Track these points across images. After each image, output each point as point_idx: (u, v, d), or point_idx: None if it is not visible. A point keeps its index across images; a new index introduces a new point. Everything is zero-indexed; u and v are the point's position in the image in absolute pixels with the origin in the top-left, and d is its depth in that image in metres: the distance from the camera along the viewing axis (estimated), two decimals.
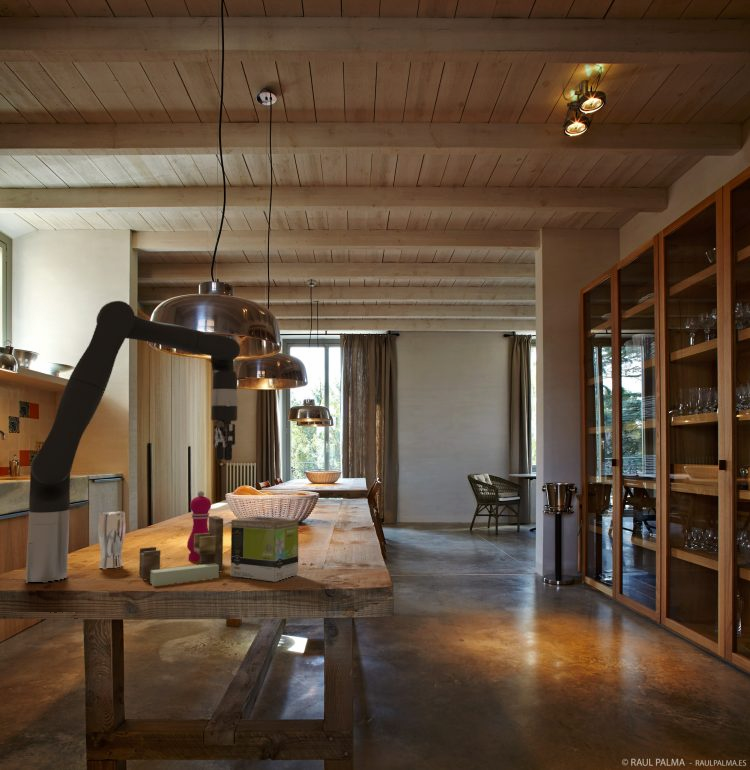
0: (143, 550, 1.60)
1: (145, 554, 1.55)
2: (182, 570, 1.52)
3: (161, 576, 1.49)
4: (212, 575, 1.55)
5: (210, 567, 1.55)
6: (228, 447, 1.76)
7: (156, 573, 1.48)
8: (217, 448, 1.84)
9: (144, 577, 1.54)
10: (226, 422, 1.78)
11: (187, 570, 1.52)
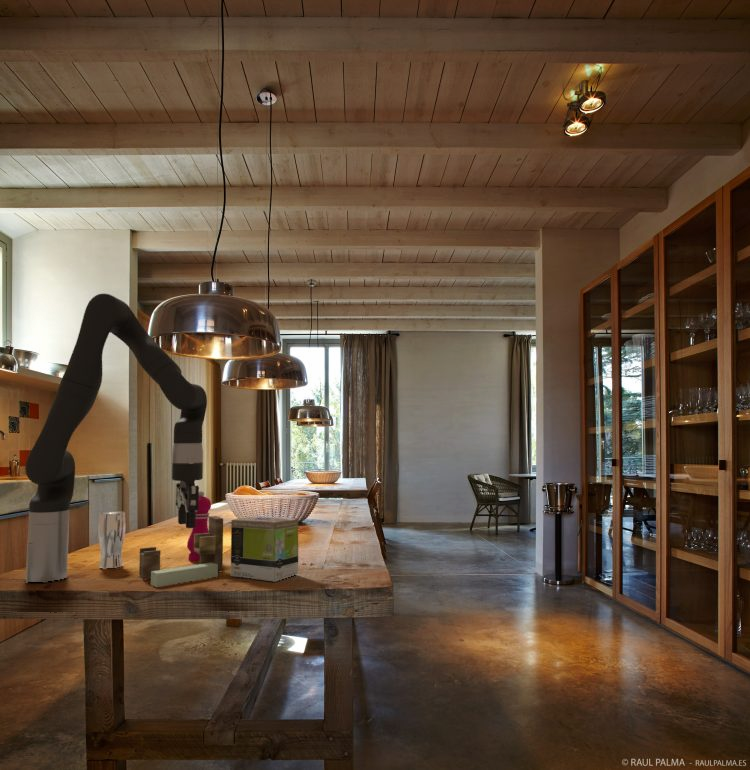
0: (143, 550, 1.60)
1: (145, 554, 1.55)
2: (184, 570, 1.52)
3: (163, 577, 1.48)
4: (211, 574, 1.56)
5: (210, 566, 1.56)
6: (191, 513, 1.50)
7: (159, 574, 1.48)
8: (180, 511, 1.58)
9: (144, 577, 1.54)
10: (189, 483, 1.52)
11: (188, 570, 1.52)
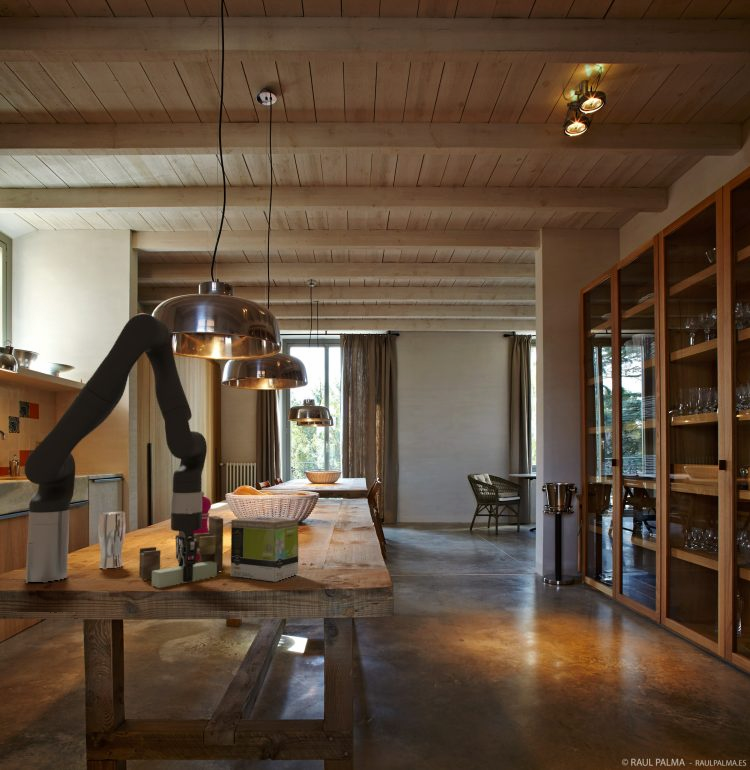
0: (143, 550, 1.60)
1: (145, 554, 1.55)
2: None
3: (165, 576, 1.48)
4: (211, 573, 1.57)
5: (209, 565, 1.57)
6: (188, 567, 1.51)
7: (161, 573, 1.47)
8: (180, 565, 1.55)
9: (144, 577, 1.54)
10: (188, 533, 1.51)
11: None
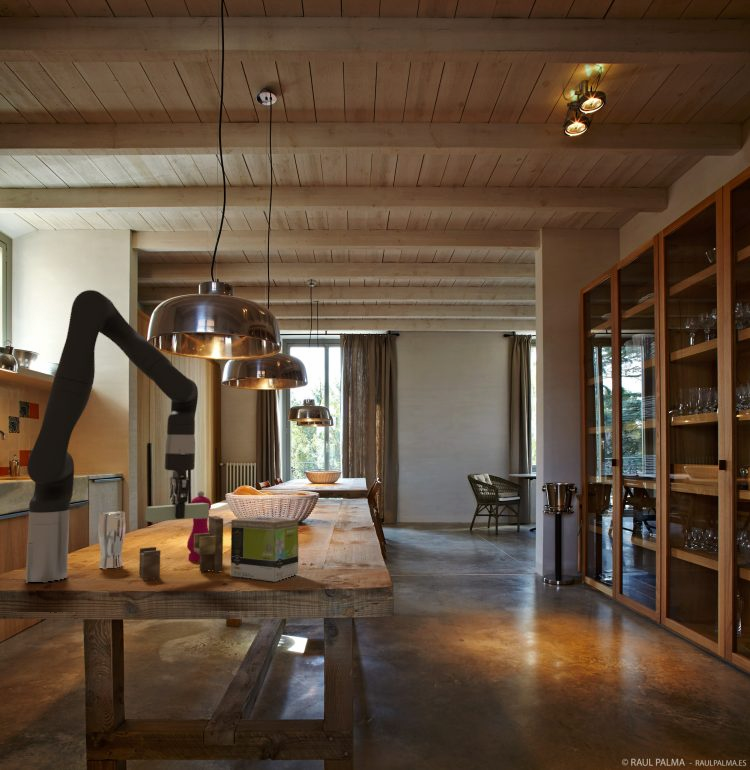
0: (143, 550, 1.60)
1: (145, 554, 1.55)
2: None
3: (158, 512, 1.56)
4: (203, 513, 1.64)
5: (201, 505, 1.64)
6: (180, 504, 1.58)
7: (154, 508, 1.55)
8: (173, 504, 1.63)
9: (144, 577, 1.54)
10: (180, 472, 1.59)
11: None
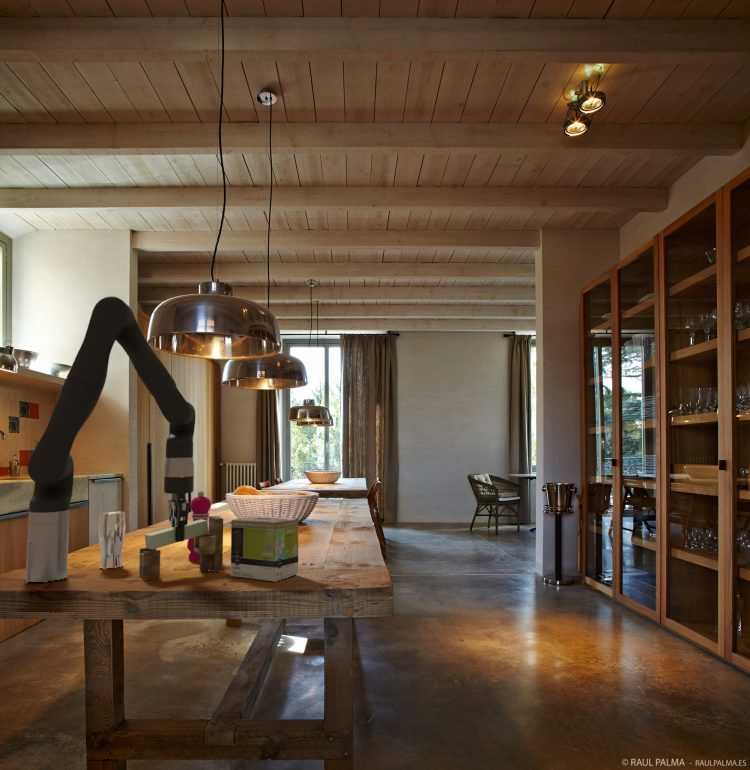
0: (143, 550, 1.60)
1: (145, 554, 1.55)
2: None
3: (157, 538, 1.56)
4: (202, 530, 1.65)
5: (200, 523, 1.65)
6: (180, 527, 1.59)
7: (153, 536, 1.56)
8: (173, 526, 1.64)
9: (144, 577, 1.54)
10: (180, 496, 1.60)
11: None
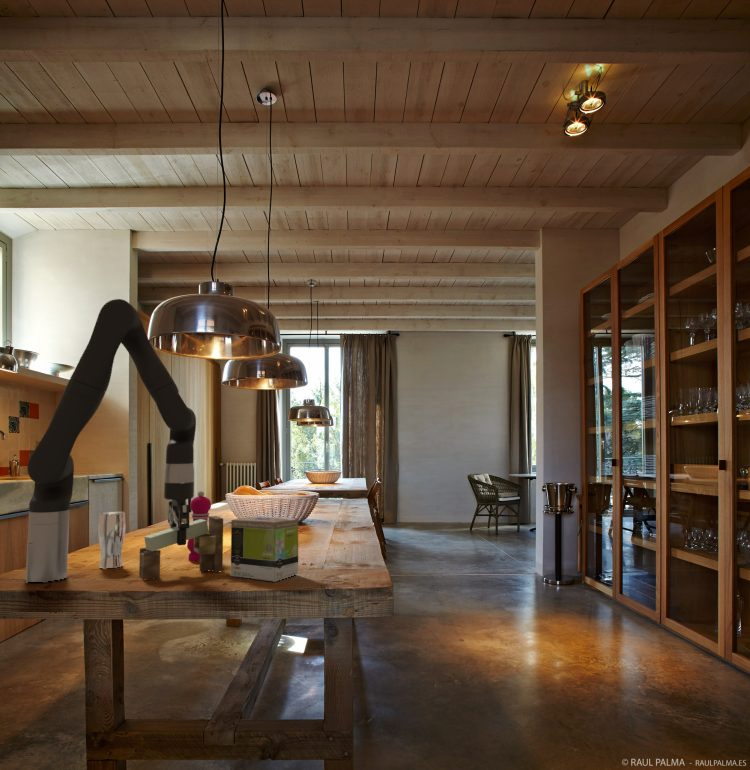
0: (143, 550, 1.60)
1: (145, 554, 1.55)
2: (175, 530, 1.60)
3: (157, 540, 1.56)
4: (202, 530, 1.65)
5: (199, 523, 1.65)
6: (182, 531, 1.58)
7: (152, 538, 1.56)
8: None
9: (144, 577, 1.54)
10: (180, 502, 1.59)
11: None
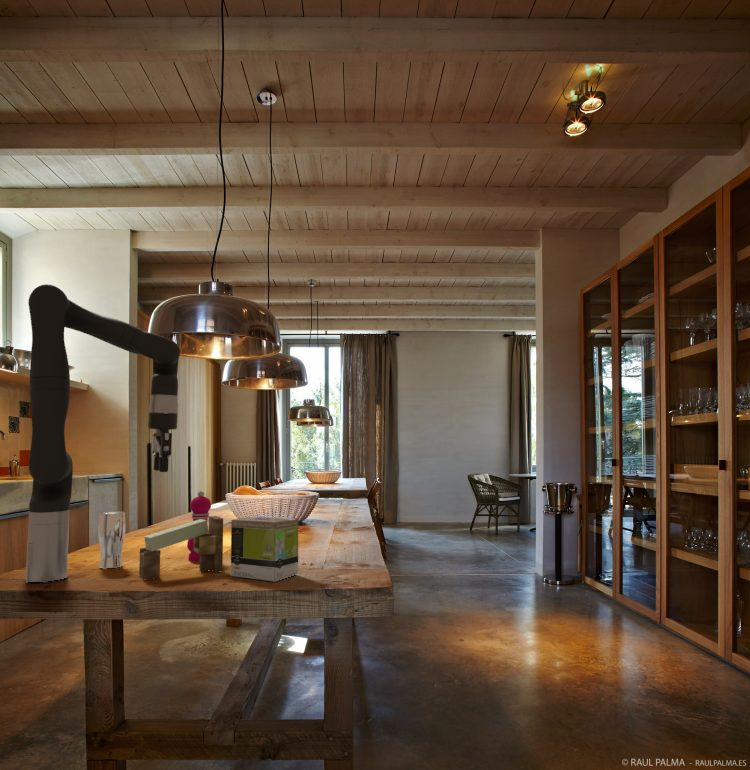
0: (143, 550, 1.60)
1: (145, 554, 1.55)
2: (175, 530, 1.60)
3: (157, 540, 1.56)
4: (202, 530, 1.65)
5: (199, 523, 1.65)
6: (164, 458, 1.63)
7: (152, 538, 1.56)
8: (155, 458, 1.71)
9: (144, 577, 1.54)
10: (163, 431, 1.65)
11: (179, 529, 1.61)
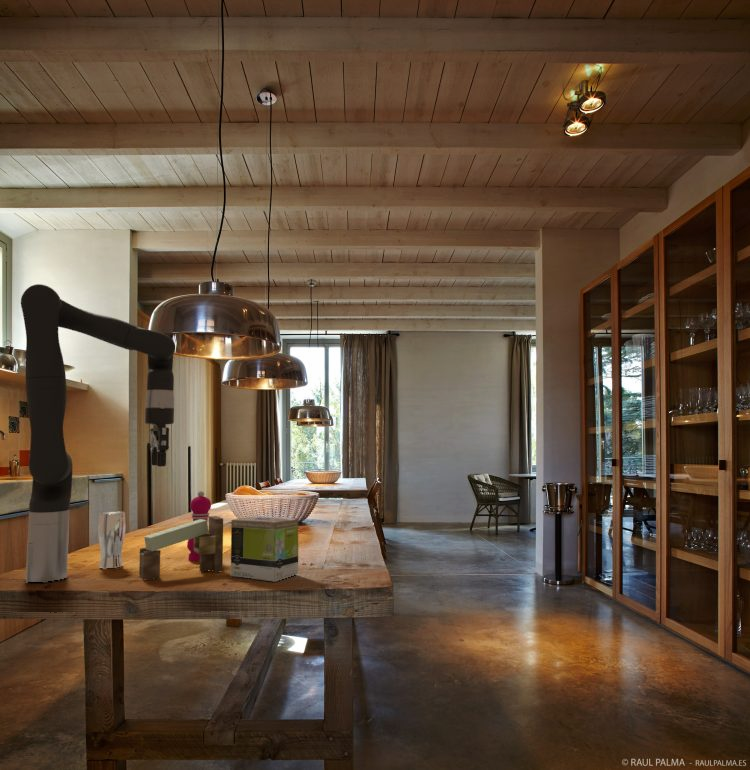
0: (143, 550, 1.60)
1: (145, 554, 1.55)
2: (175, 530, 1.60)
3: (157, 540, 1.56)
4: (202, 530, 1.65)
5: (199, 523, 1.65)
6: (161, 452, 1.64)
7: (152, 538, 1.56)
8: (153, 453, 1.72)
9: (144, 577, 1.54)
10: (160, 425, 1.66)
11: (179, 529, 1.61)
